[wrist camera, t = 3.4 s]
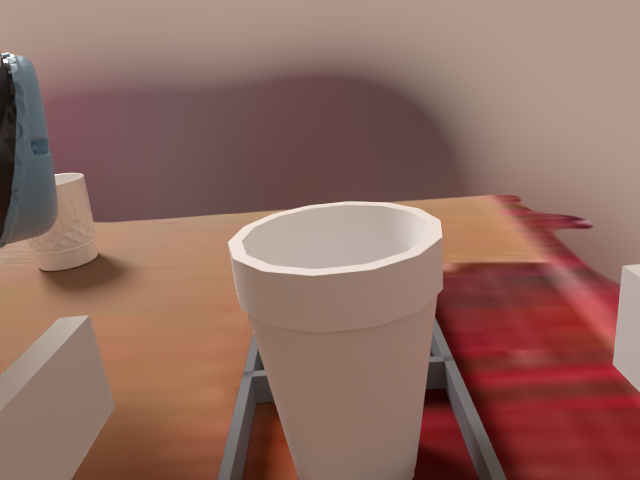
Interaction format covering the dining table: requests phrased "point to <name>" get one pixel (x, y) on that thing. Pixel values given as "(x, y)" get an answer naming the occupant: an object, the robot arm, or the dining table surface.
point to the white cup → (67, 228)
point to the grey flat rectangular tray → (438, 377)
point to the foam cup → (344, 330)
